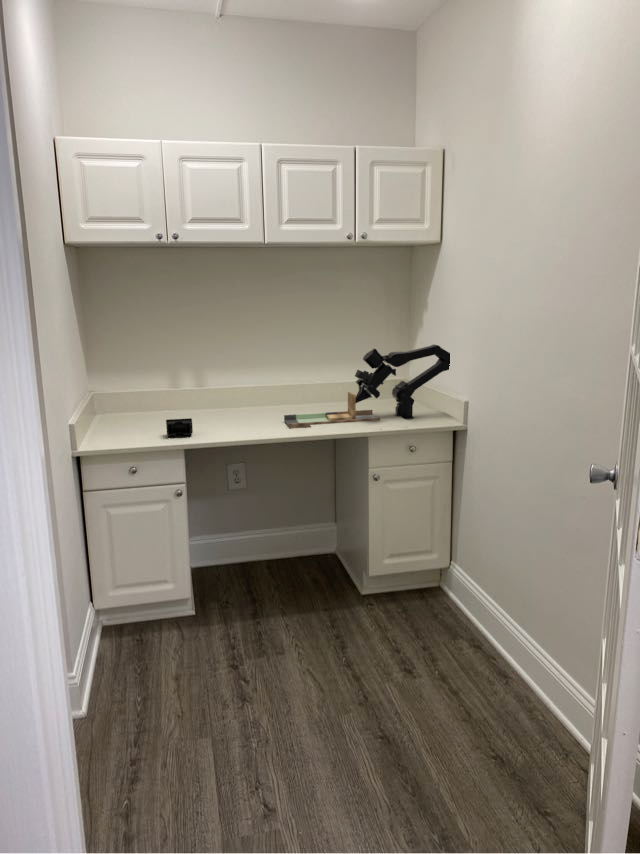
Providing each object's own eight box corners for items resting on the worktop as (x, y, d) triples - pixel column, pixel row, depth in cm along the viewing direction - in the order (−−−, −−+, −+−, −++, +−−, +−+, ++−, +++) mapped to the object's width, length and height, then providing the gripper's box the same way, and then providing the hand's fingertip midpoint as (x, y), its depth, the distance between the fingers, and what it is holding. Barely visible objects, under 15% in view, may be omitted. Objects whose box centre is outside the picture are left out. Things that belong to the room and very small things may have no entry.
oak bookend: (351, 416, 287) (351, 391, 284) (355, 420, 280) (355, 394, 278) (326, 418, 284) (326, 393, 282) (330, 421, 278) (330, 396, 275)
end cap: (192, 433, 267) (191, 416, 266) (192, 437, 260) (191, 420, 259) (167, 434, 266) (166, 418, 264) (166, 438, 259) (165, 422, 257)
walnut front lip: (379, 421, 281) (379, 417, 281) (380, 422, 280) (380, 418, 279) (288, 427, 273) (288, 423, 273) (289, 428, 272) (289, 424, 271)
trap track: (371, 416, 292) (371, 409, 291) (379, 421, 281) (379, 414, 280) (284, 421, 284) (284, 415, 283) (288, 427, 273) (288, 420, 272)
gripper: (360, 360, 288) (335, 386, 288) (372, 366, 270) (346, 394, 270) (377, 377, 291) (353, 403, 292) (390, 384, 274) (365, 411, 274)
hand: (354, 402), depth 282 cm, fingers closed
